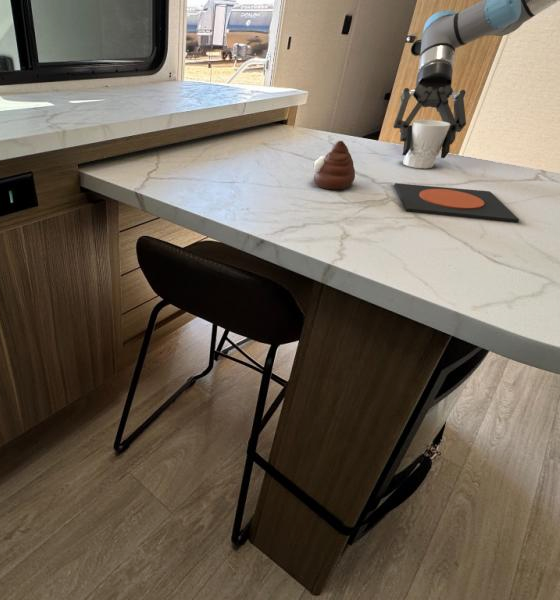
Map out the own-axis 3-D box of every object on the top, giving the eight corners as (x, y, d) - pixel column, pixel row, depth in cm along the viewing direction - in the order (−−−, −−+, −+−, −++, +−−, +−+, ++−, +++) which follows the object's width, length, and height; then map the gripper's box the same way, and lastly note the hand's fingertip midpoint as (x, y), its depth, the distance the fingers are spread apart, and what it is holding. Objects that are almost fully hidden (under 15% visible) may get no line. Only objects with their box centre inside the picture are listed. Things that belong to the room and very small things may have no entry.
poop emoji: (346, 193, 86) (358, 147, 81) (305, 186, 90) (314, 142, 85) (356, 181, 93) (368, 137, 88) (318, 175, 97) (327, 133, 92)
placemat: (488, 194, 86) (490, 189, 86) (518, 222, 73) (520, 217, 73) (394, 185, 91) (395, 181, 90) (405, 211, 78) (407, 206, 78)
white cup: (435, 163, 106) (450, 121, 100) (434, 171, 100) (450, 127, 95) (401, 159, 109) (414, 118, 104) (398, 166, 103) (411, 123, 98)
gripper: (474, 84, 105) (466, 165, 101) (385, 81, 110) (374, 158, 106) (490, 61, 98) (482, 147, 94) (394, 59, 103) (383, 141, 99)
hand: (425, 153), depth 100 cm, fingers closed on white cup, 8 cm apart
